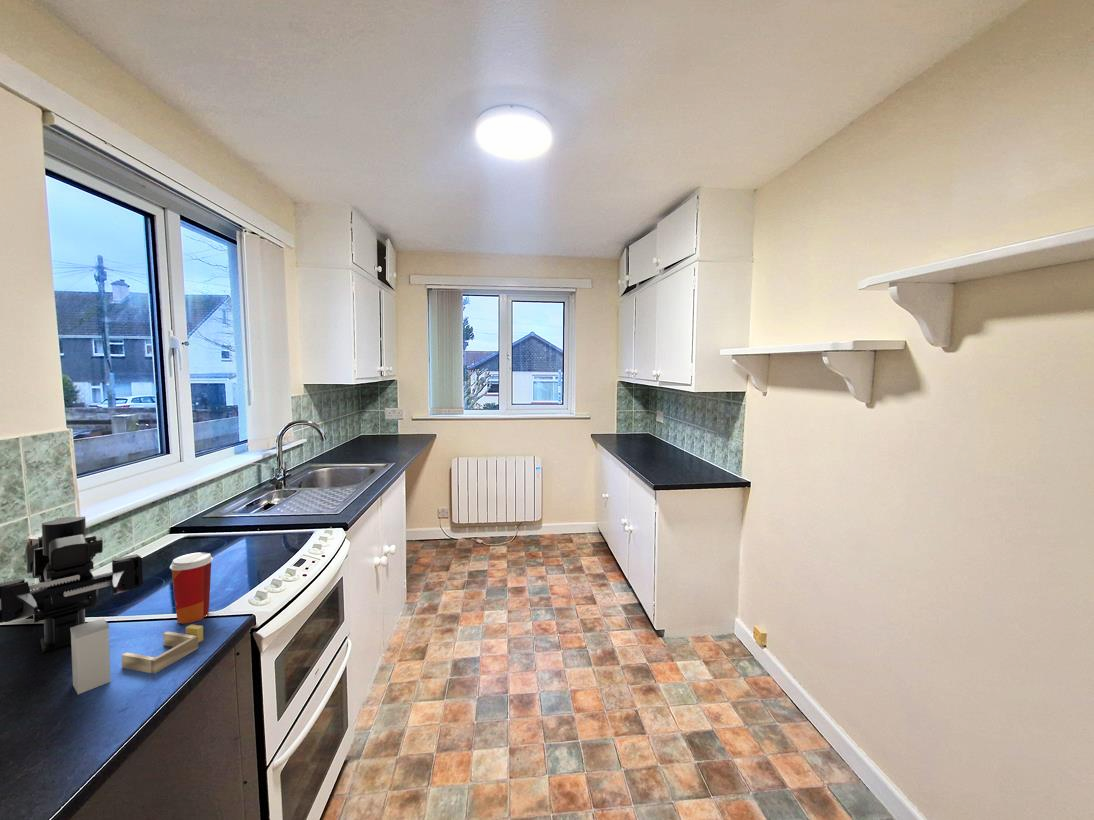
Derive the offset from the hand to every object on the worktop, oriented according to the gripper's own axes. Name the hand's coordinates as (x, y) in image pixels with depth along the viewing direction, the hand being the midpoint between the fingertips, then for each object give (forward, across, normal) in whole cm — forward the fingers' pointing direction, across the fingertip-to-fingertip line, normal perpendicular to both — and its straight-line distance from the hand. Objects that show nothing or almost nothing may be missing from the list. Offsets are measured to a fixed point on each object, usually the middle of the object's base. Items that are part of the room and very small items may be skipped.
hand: (77, 600), depth 74 cm
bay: (-2, +11, +17) cm, 20 cm away
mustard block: (-5, +17, +16) cm, 24 cm away
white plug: (-2, +2, +17) cm, 17 cm away
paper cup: (-16, +19, +17) cm, 30 cm away
